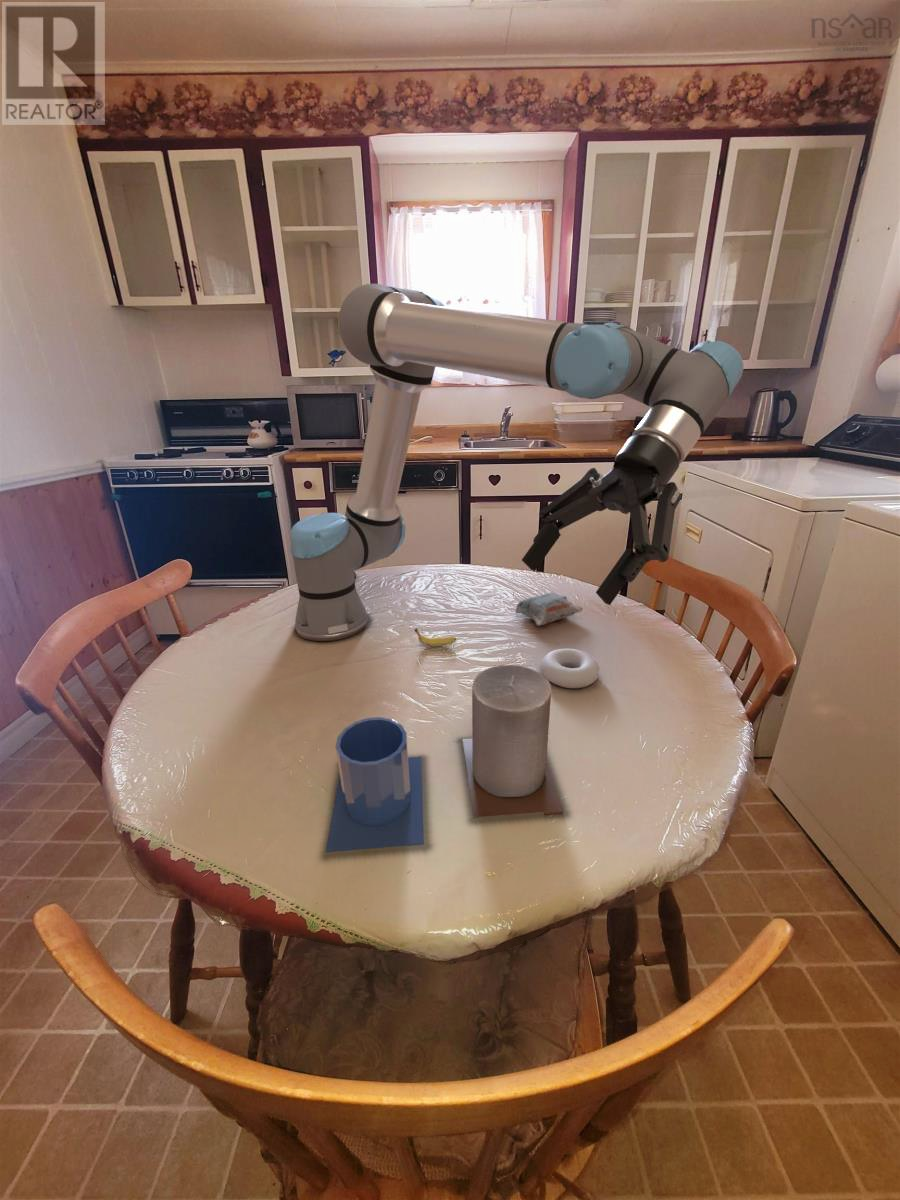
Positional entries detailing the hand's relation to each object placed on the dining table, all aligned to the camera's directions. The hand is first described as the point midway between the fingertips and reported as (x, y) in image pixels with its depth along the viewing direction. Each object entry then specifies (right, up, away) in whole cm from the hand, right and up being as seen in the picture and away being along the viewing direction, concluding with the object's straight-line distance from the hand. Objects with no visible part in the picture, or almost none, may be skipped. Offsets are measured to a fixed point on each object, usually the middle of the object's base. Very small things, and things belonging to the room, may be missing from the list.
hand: (562, 581), depth 63 cm
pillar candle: (-7, -26, +2) cm, 26 cm away
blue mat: (-24, -28, -2) cm, 37 cm away
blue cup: (-24, -27, -2) cm, 36 cm away
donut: (+6, -16, +23) cm, 28 cm away
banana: (-17, -12, +33) cm, 39 cm away
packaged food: (+7, -7, +43) cm, 44 cm away
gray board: (-7, -26, +2) cm, 27 cm away
